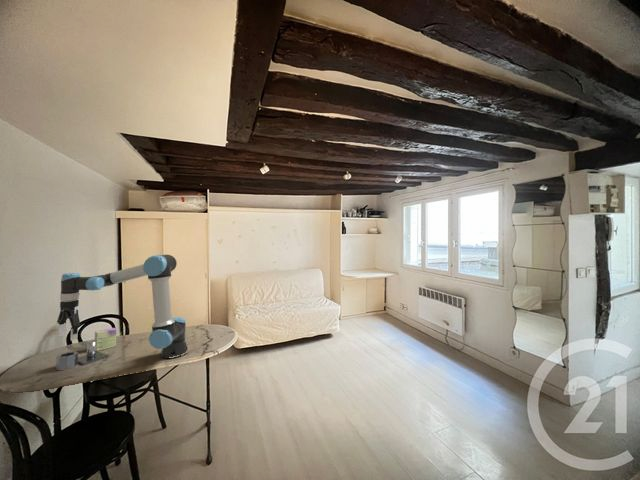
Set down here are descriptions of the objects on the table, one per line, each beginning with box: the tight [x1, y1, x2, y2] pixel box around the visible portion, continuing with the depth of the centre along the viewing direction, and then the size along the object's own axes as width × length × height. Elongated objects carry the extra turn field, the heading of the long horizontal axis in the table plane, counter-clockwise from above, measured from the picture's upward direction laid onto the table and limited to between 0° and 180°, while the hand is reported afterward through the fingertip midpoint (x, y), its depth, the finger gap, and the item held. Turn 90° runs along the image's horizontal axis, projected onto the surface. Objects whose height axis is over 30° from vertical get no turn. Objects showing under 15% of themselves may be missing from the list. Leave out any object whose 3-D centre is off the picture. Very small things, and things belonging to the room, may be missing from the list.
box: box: [94, 327, 118, 352], centre depth 170 cm, size 10×6×12 cm, turn 145°
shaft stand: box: [78, 340, 109, 366], centre depth 153 cm, size 12×12×10 cm
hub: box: [55, 351, 79, 372], centre depth 143 cm, size 8×8×7 cm
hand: (67, 337), depth 143 cm, fingers open, 13 cm apart
